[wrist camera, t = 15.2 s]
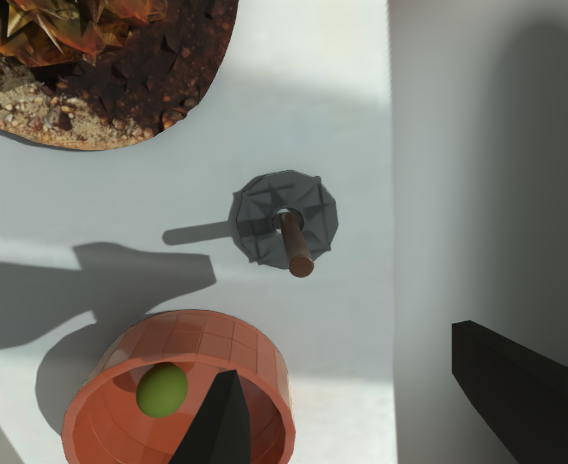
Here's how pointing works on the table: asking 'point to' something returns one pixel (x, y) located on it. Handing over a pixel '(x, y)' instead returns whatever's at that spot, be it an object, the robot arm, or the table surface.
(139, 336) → the bowl
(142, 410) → the olive
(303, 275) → the stick
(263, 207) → the holder
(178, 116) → the cactus
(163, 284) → the table surface
